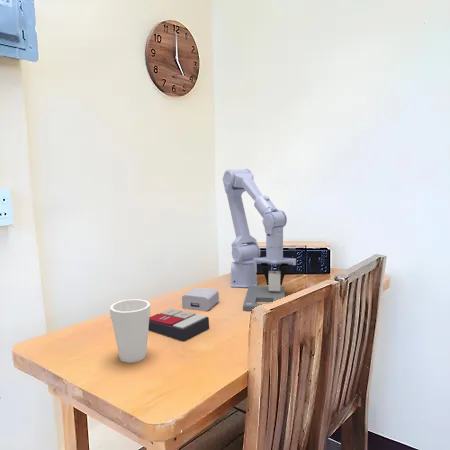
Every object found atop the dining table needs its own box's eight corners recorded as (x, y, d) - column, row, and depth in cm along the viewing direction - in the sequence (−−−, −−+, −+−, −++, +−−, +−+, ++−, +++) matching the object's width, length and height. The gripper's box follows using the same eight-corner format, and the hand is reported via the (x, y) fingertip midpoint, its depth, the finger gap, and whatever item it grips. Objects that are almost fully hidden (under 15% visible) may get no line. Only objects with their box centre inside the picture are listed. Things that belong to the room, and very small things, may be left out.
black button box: (170, 306, 127) (209, 314, 118) (171, 320, 127) (210, 328, 118) (143, 317, 118) (182, 326, 109) (144, 332, 119) (183, 342, 110)
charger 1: (225, 297, 145) (208, 312, 132) (201, 295, 149) (182, 308, 135) (225, 284, 145) (208, 297, 131) (200, 282, 148) (181, 294, 134)
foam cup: (155, 347, 106) (153, 298, 104) (149, 365, 97) (146, 312, 95) (118, 348, 106) (115, 299, 104) (108, 366, 97) (104, 312, 95)
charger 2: (268, 290, 144) (268, 273, 143) (268, 287, 148) (269, 270, 147) (280, 291, 143) (280, 273, 142) (280, 287, 147) (280, 270, 146)
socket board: (242, 310, 132) (242, 305, 131) (249, 289, 153) (249, 284, 153) (284, 312, 130) (284, 306, 130) (284, 290, 151) (284, 285, 151)
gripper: (252, 248, 140) (252, 287, 143) (296, 249, 138) (295, 288, 140) (254, 244, 147) (254, 281, 149) (295, 244, 145) (295, 282, 147)
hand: (274, 284), depth 145 cm, fingers closed on charger 2, 4 cm apart
